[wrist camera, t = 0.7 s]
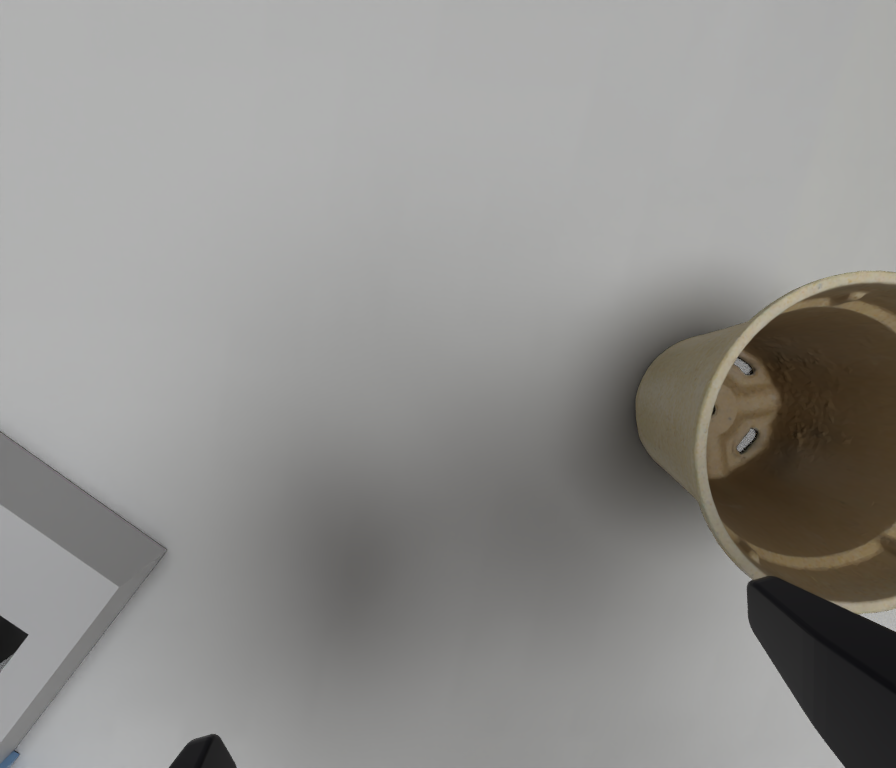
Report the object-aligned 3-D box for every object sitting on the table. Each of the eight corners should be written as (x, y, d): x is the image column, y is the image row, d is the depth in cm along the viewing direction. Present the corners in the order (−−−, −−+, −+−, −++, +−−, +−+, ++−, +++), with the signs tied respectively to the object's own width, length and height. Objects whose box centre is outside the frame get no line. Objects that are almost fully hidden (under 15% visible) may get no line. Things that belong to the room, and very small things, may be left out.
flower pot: (777, 537, 24) (980, 647, 15) (571, 492, 23) (658, 579, 14) (834, 328, 23) (1078, 315, 14) (624, 277, 23) (748, 233, 14)
